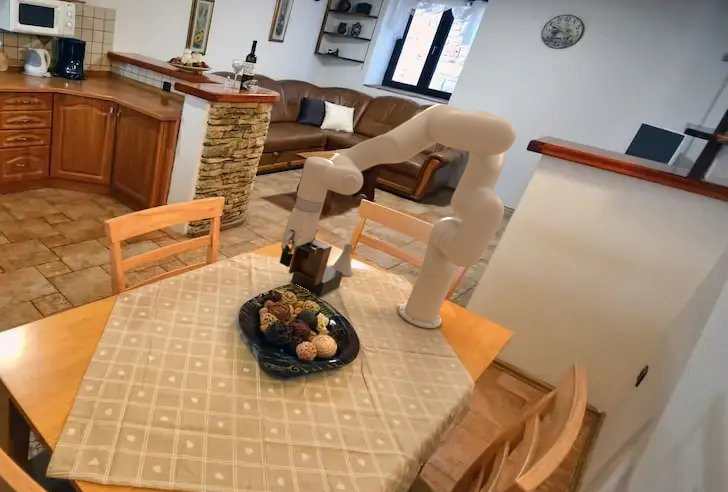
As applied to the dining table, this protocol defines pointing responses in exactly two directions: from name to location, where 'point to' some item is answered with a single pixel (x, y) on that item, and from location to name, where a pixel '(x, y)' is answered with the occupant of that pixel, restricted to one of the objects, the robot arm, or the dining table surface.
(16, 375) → the dining table surface
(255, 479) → the dining table surface
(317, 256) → the basket
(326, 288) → the stand
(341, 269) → the flask
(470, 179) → the robot arm
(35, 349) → the dining table surface
